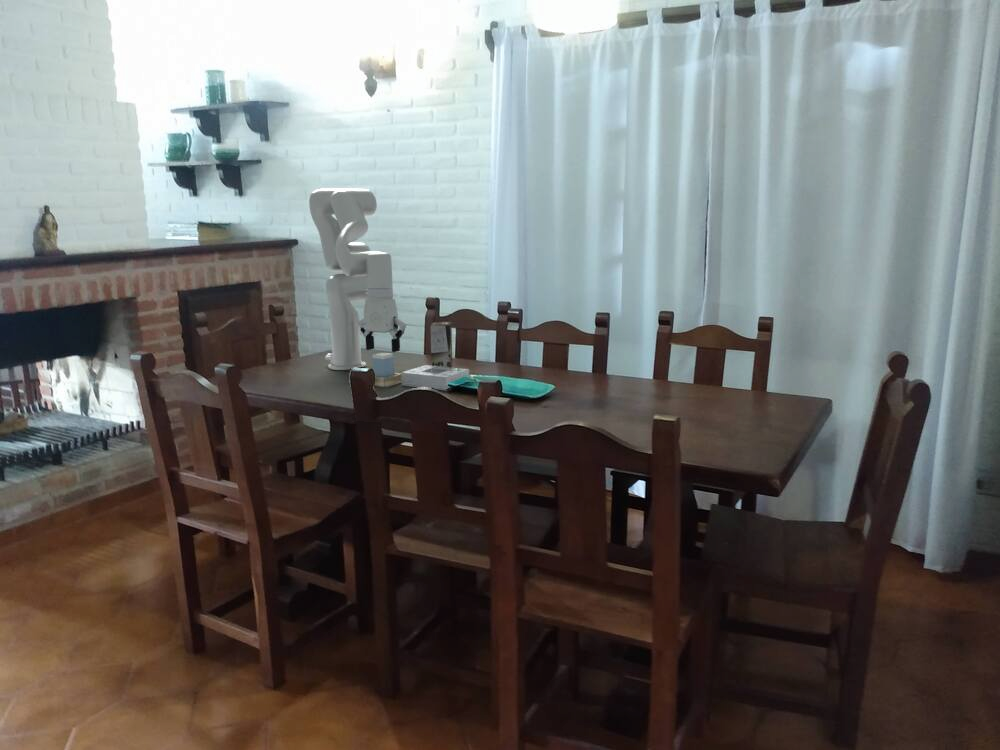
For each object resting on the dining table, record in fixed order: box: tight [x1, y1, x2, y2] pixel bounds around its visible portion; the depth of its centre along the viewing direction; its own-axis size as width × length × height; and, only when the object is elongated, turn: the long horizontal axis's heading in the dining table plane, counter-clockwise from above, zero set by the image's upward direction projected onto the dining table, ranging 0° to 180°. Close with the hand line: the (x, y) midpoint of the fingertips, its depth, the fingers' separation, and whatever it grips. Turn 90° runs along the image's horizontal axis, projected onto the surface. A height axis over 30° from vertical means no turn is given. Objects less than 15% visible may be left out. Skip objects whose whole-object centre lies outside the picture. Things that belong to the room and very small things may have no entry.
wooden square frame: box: [374, 372, 402, 388], centre depth 234 cm, size 9×9×2 cm
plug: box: [372, 352, 395, 378], centre depth 233 cm, size 4×4×9 cm
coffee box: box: [429, 321, 454, 368], centre depth 248 cm, size 9×6×16 cm
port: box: [400, 364, 470, 391], centre depth 232 cm, size 16×13×4 cm
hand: (383, 350), depth 232 cm, fingers open, 9 cm apart
